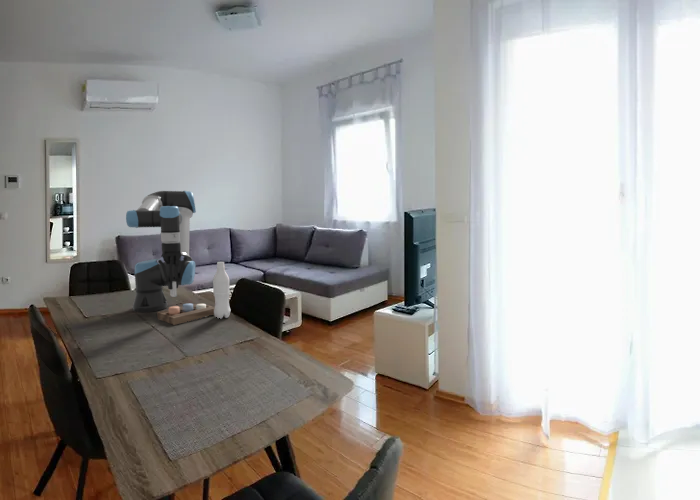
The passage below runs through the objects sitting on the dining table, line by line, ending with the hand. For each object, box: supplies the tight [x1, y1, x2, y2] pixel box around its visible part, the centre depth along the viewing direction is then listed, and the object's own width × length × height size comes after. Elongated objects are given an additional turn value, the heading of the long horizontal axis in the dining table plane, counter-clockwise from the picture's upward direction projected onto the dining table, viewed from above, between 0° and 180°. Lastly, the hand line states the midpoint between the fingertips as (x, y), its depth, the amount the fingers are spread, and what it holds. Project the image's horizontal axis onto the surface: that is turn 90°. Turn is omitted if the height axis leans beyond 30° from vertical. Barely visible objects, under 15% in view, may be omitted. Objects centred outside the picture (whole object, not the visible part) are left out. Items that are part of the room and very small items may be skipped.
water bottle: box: [212, 261, 231, 320], centre depth 184 cm, size 7×7×25 cm
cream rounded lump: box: [196, 303, 207, 309], centre depth 191 cm, size 4×4×4 cm
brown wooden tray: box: [156, 302, 215, 326], centre depth 186 cm, size 14×21×3 cm, turn 142°
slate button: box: [182, 302, 194, 312], centre depth 186 cm, size 4×4×4 cm
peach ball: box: [167, 305, 180, 316], centre depth 181 cm, size 4×4×4 cm
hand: (173, 296), depth 180 cm, fingers closed
